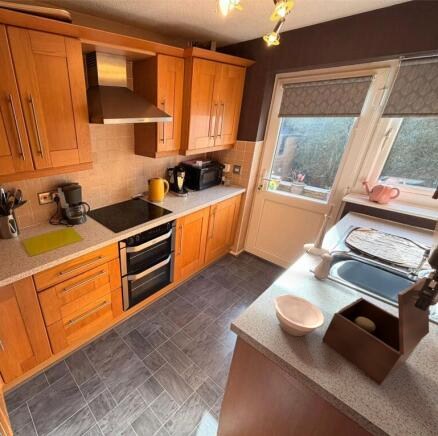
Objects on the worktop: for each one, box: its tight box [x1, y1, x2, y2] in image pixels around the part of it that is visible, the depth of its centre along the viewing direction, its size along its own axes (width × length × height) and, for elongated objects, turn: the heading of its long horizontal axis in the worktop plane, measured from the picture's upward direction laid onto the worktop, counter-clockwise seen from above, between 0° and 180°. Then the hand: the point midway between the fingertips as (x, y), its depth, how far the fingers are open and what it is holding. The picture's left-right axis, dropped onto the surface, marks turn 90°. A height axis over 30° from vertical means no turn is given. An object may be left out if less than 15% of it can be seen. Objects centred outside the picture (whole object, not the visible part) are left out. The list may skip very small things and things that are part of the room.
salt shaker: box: [313, 254, 334, 280], centre depth 112 cm, size 6×6×13 cm
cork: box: [354, 317, 375, 333], centre depth 79 cm, size 6×6×11 cm
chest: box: [321, 297, 423, 386], centre depth 76 cm, size 17×17×14 cm
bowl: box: [273, 294, 325, 337], centre depth 87 cm, size 16×16×8 cm
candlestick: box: [303, 203, 336, 257], centre depth 131 cm, size 13×13×30 cm
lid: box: [397, 276, 438, 355], centre depth 63 cm, size 17×17×5 cm
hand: (425, 304), depth 63 cm, fingers closed on lid, 6 cm apart
